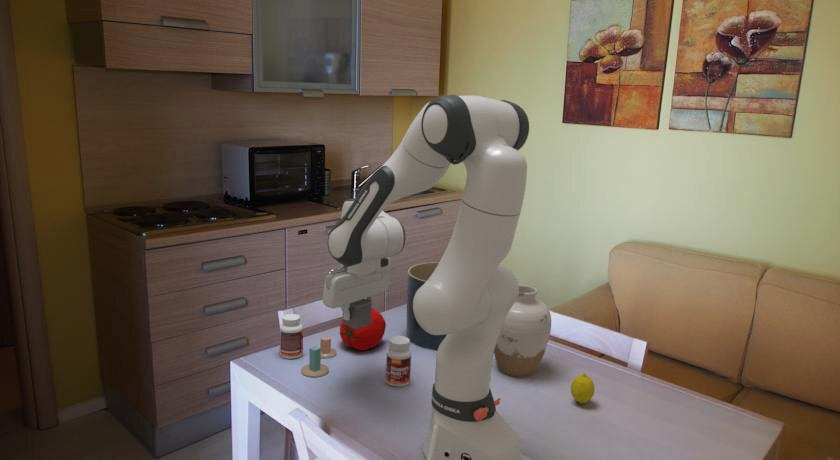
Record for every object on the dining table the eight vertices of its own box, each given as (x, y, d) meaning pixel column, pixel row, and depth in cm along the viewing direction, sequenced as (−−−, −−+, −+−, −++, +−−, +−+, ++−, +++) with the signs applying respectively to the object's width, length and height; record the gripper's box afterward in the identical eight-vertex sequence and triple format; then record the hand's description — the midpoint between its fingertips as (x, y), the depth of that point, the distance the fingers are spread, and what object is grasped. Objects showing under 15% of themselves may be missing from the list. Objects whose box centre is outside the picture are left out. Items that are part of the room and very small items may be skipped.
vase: (483, 377, 158) (489, 294, 153) (491, 353, 173) (497, 276, 168) (545, 387, 155) (553, 302, 149) (547, 361, 170) (555, 283, 164)
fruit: (564, 402, 148) (567, 371, 146) (578, 395, 151) (581, 365, 149) (583, 411, 143) (587, 380, 142) (597, 404, 147) (601, 374, 145)
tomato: (371, 346, 181) (341, 362, 171) (353, 307, 182) (323, 321, 172) (400, 333, 174) (371, 349, 163) (381, 293, 175) (351, 306, 164)
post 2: (341, 353, 168) (341, 338, 167) (324, 360, 164) (324, 344, 162) (326, 347, 172) (326, 332, 171) (309, 353, 167) (310, 338, 166)
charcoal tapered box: (371, 323, 152) (371, 301, 150) (356, 329, 148) (357, 306, 147) (357, 318, 155) (357, 296, 154) (342, 323, 151) (342, 300, 150)
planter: (440, 358, 168) (444, 289, 164) (389, 333, 184) (392, 269, 179) (493, 339, 183) (498, 275, 178) (441, 317, 199) (445, 258, 194)
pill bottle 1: (306, 356, 165) (306, 318, 163) (284, 361, 162) (284, 322, 159) (297, 348, 170) (297, 311, 168) (276, 352, 167) (276, 315, 164)
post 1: (334, 371, 158) (334, 348, 156) (313, 380, 152) (313, 356, 151) (316, 362, 162) (316, 340, 160) (295, 371, 157) (295, 348, 155)
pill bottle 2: (389, 388, 150) (390, 346, 147) (383, 377, 156) (384, 336, 153) (412, 386, 152) (415, 344, 149) (406, 374, 158) (408, 334, 155)
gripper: (335, 273, 138) (334, 330, 141) (395, 257, 154) (393, 309, 157) (317, 267, 142) (316, 323, 145) (377, 252, 157) (376, 303, 160)
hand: (357, 315), depth 151 cm, fingers closed on charcoal tapered box, 5 cm apart
